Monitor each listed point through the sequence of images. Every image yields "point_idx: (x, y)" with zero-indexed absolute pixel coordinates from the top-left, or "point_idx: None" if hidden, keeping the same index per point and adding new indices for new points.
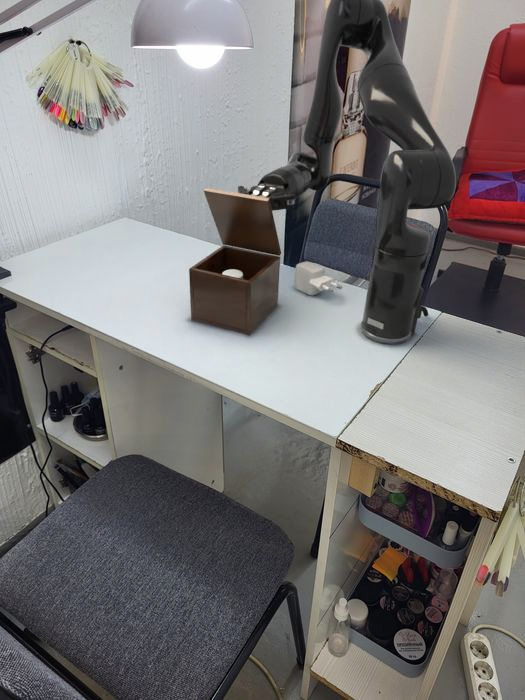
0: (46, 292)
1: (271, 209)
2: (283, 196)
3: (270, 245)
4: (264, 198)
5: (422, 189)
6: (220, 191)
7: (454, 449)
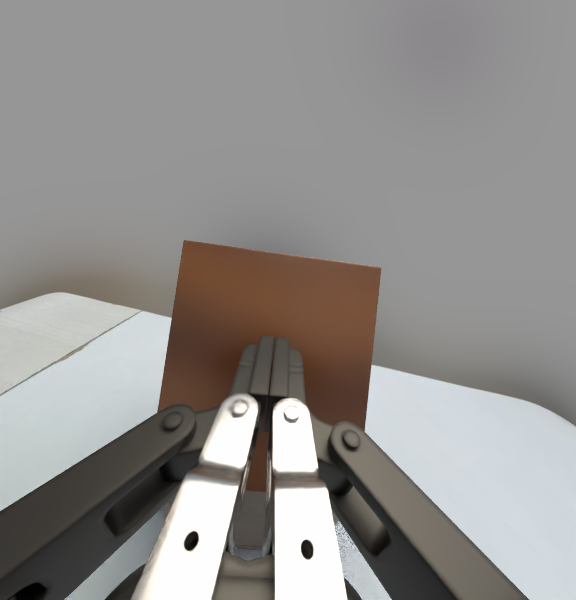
0: (499, 410)
1: (178, 281)
2: (32, 506)
3: None
4: (198, 243)
5: None
6: (331, 261)
7: (43, 313)
